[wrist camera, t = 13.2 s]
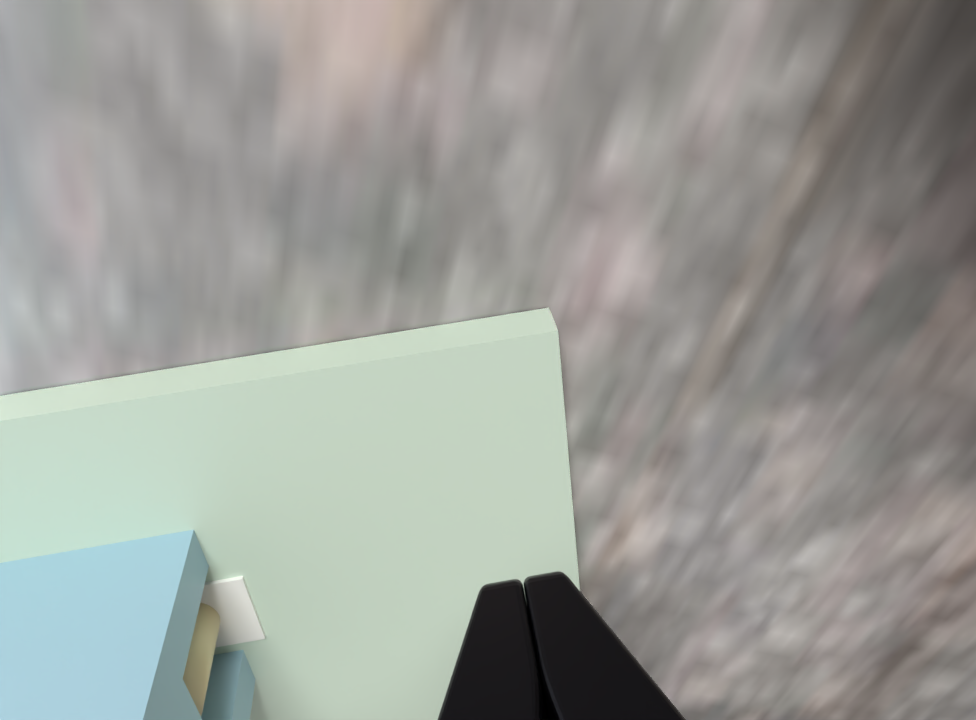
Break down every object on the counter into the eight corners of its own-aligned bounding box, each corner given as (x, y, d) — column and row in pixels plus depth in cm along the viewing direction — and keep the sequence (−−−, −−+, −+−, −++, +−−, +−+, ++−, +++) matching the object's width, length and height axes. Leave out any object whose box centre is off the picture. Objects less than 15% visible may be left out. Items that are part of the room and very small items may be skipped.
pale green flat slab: (548, 307, 17) (586, 400, 14) (582, 679, 24) (612, 798, 21) (-442, 466, 17) (-621, 600, 14) (-136, 808, 23) (-213, 951, 20)
